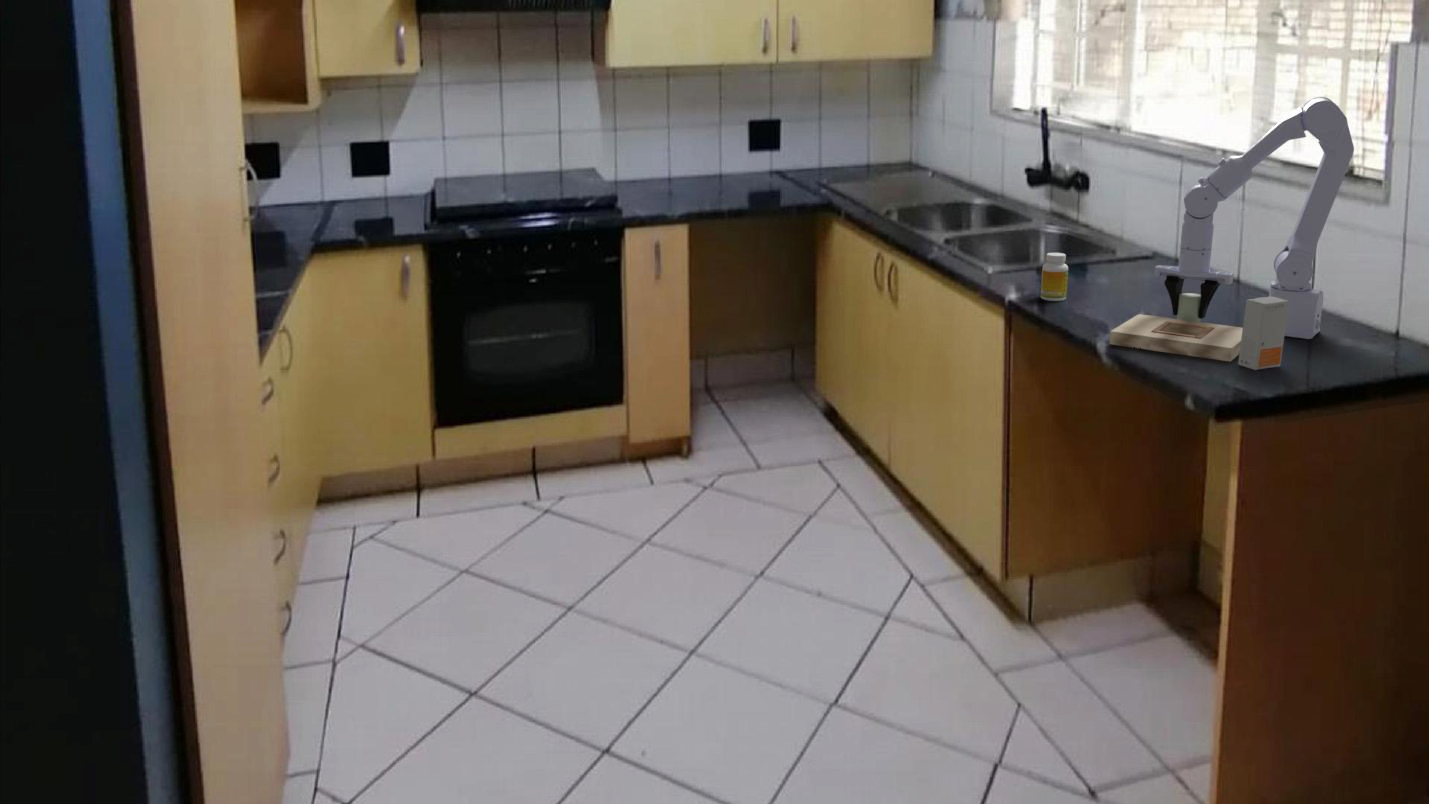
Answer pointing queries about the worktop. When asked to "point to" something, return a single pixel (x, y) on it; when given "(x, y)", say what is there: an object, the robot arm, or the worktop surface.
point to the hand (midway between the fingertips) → (1189, 315)
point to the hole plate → (1179, 337)
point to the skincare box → (1263, 332)
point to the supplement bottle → (1054, 277)
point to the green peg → (1189, 307)
